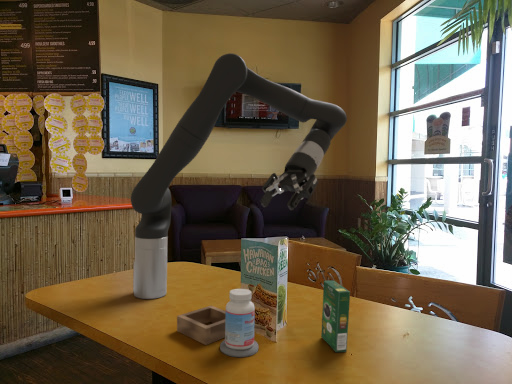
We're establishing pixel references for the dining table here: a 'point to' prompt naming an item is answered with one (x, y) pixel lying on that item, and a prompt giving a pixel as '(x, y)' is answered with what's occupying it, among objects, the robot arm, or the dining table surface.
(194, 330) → the square open box
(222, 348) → the coaster
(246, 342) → the pill bottle
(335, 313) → the coffee box
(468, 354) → the dining table surface
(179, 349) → the dining table surface
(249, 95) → the robot arm
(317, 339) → the dining table surface
